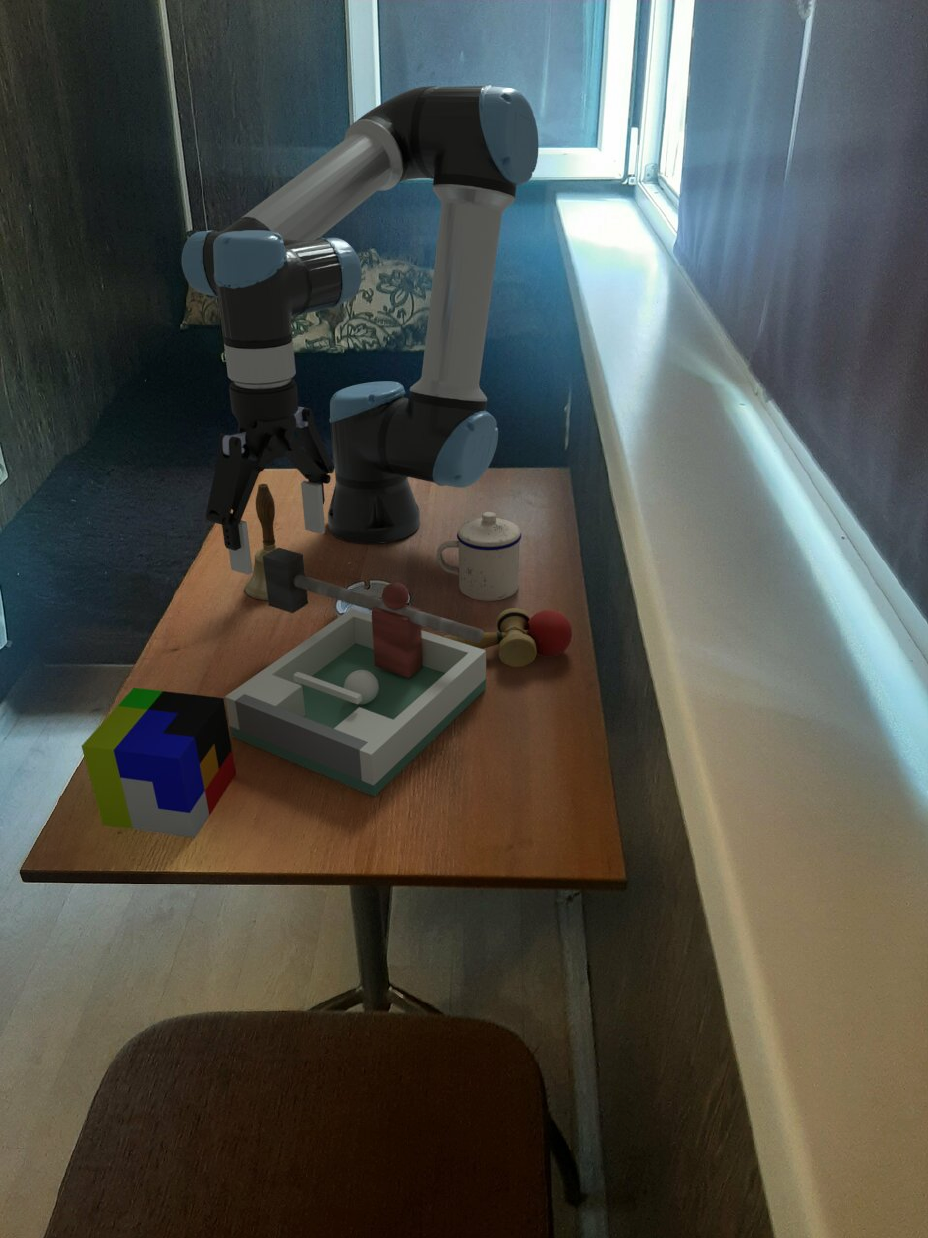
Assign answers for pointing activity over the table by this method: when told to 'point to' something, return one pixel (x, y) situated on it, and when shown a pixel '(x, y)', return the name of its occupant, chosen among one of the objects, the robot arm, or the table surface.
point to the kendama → (525, 636)
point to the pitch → (354, 703)
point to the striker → (390, 615)
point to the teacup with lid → (486, 558)
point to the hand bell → (266, 518)
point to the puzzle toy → (161, 761)
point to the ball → (362, 685)
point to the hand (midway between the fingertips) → (280, 550)
